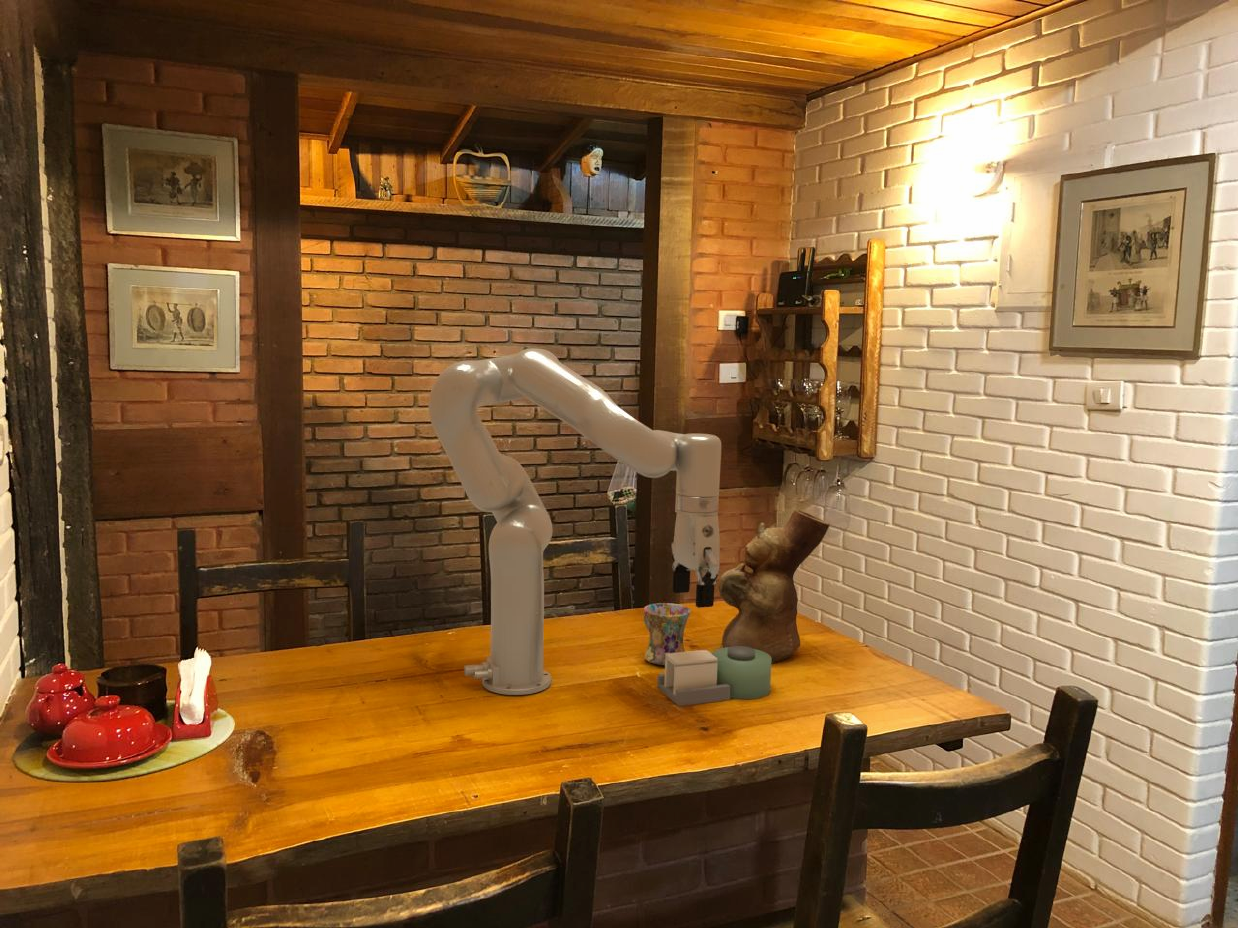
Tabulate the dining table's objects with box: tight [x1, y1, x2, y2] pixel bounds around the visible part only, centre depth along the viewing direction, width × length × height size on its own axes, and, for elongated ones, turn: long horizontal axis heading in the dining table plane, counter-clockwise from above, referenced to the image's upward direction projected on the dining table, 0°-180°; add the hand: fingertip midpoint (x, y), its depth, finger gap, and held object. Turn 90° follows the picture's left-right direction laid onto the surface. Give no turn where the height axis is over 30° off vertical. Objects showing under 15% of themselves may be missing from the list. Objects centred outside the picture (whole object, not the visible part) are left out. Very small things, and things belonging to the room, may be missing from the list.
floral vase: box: [643, 602, 692, 667], centre depth 183 cm, size 12×9×11 cm
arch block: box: [664, 649, 718, 696], centre depth 164 cm, size 8×5×6 cm, turn 109°
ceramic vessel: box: [718, 509, 830, 664], centre depth 187 cm, size 16×22×30 cm
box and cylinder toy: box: [656, 646, 772, 707], centre depth 166 cm, size 20×11×7 cm, turn 111°
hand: (692, 599), depth 163 cm, fingers open, 9 cm apart
